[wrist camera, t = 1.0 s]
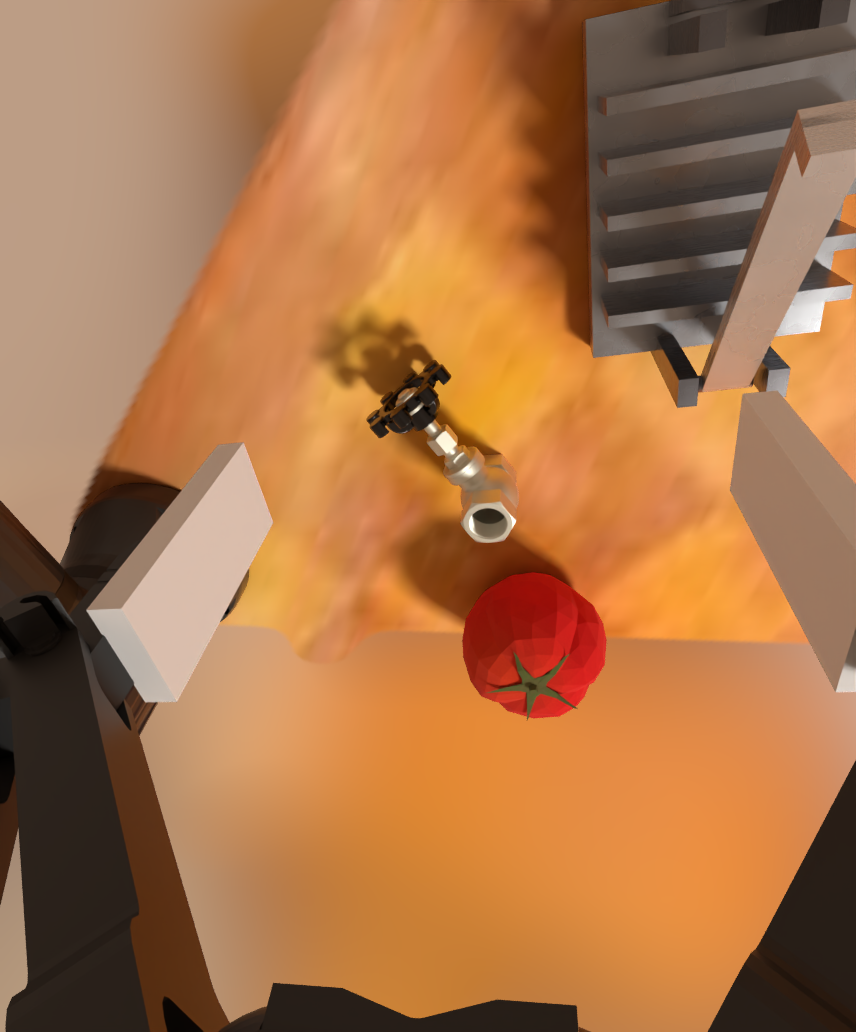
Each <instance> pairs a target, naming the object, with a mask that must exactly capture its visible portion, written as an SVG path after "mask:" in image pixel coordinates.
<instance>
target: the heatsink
mask: <svg viewBox="0 0 856 1032" xmlns="http://www.w3.org/2000/svg"><path fill="white" fill-rule="evenodd" d="M582 36H583V76H584V116H585V156H586V196H587V236H588V275H589V315H590V347H591V351H592V355H593V358H595V357H604V356H612V355H621V354H629V353H638V352H646V351H651V353H652V356H653V358H654V360H655V362H656V364H657V366H658V368H659V370H660V372H661V375H662V377H663V379H664V381H665V383H666V385H667V387H668V389H669V391H670V393H671V396H672V398H673V400H674V402H675V404H676V406H677V408H680V407H690V406H697V397H698V384H699V377H698V376H697V374H696V372H695V370H694V369H693V367H692V365H691V364H690V362H689V360H688V359H687V357H686V355H685V354H684V352H683V350H682V348H681V347H689V346H698V345H706V344H713V341H714V338H715V336H716V333H717V330H718V327H719V325H720V322H721V319H722V316H723V314H724V311H725V308H726V305H727V303H728V300H729V297H730V294H731V292H732V289H733V286H734V283H735V281H736V278H737V275H738V272H739V270H740V267H741V264H742V262H743V259H744V256H745V253H746V251H747V248H748V245H749V242H750V240H751V237H752V234H753V231H754V229H755V226H756V223H757V220H758V218H759V215H760V212H761V209H762V207H763V204H764V201H765V198H766V196H767V193H768V190H769V187H770V185H771V182H772V179H773V176H774V174H775V171H776V168H777V165H778V163H779V160H780V157H781V154H782V152H783V149H784V146H785V143H786V141H787V138H788V135H789V132H790V130H791V127H792V124H793V122H794V119H795V116H796V113H797V111H798V110H800V109H806V108H811V107H817V106H822V105H828V104H833V103H839V102H844V101H850V100H855V99H856V0H670V1H668V2H663V3H658V4H654V5H649V6H645V7H640V8H636V9H631V10H627V11H622V12H618V13H613V14H609V15H604V16H600V17H595V18H590V19H586V20H584V21H583V22H582ZM850 194H856V178H855V180H854V182H853V184H852V185H851V187H850V189H849V191H848V193H847V195H850ZM842 206H843V203H842V205H841V207H840V209H839V211H838V213H837V215H836V217H835V219H834V221H833V223H832V225H831V227H830V229H829V231H828V232H827V234H826V236H825V238H824V240H823V242H822V244H821V246H820V248H819V250H818V252H817V254H816V256H815V258H814V260H813V262H812V264H811V266H810V268H809V270H808V272H807V274H806V276H805V278H804V280H803V281H802V283H801V285H800V287H799V289H798V291H797V293H796V295H795V297H794V299H793V301H792V303H791V305H790V307H789V309H788V311H787V313H786V315H785V317H784V319H783V321H782V323H781V325H780V327H779V328H778V330H777V332H776V334H775V336H783V335H791V334H800V333H808V332H817V331H820V325H821V320H822V314H823V309H824V304H825V302H827V301H835V300H843V299H850V298H851V293H852V288H853V284H851V283H850V282H848V281H847V280H845V279H844V278H842V277H840V276H839V275H837V274H836V273H834V272H832V271H831V266H832V260H833V255H834V251H838V250H845V249H852V248H856V228H854V227H852V226H850V225H848V224H846V223H844V222H841V221H840V217H841V212H842ZM789 373H790V367H789V366H788V365H787V364H786V363H785V362H784V361H783V360H782V359H781V358H780V356H779V355H778V354H777V353H776V352H775V351H774V350H773V349H772V348H771V347H770V346H769V348H768V350H767V352H766V354H765V356H764V358H763V360H762V362H761V364H760V366H759V368H758V370H757V372H756V374H755V376H754V382H753V384H754V385H755V386H756V388H757V389H758V390H759V392H767V391H778V392H779V393H780V394H781V395H782V397H786V392H787V385H788V379H789Z"/></svg>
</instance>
